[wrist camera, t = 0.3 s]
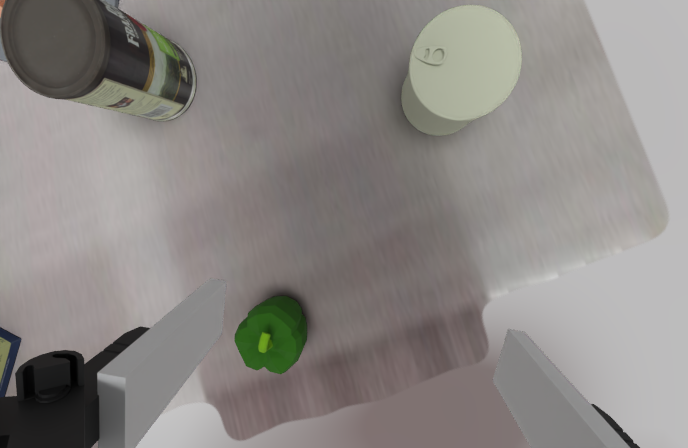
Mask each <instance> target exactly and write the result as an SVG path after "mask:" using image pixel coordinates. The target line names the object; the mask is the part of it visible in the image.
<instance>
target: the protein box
mask: <svg viewBox="0 0 688 448" xmlns="http://www.w3.org/2000/svg"><path fill="white" fill-rule="evenodd" d="M20 342H21V338H19V337H17V336H15V335H13V334H11V333H9V332H7V331H5V330H3V329H2V328H0V397H4V396H5V392H6V389H7V386H8V382H9V379H10V376H11V372H12V369H13V365H14V362H15V359H16V355H17V352H18V348H19V345H20Z"/></svg>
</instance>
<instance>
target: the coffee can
mask: <svg viewBox="0 0 688 448" xmlns="http://www.w3.org/2000/svg"><path fill="white" fill-rule="evenodd" d="M0 38H1V44H2V48H3V51H4V54H5V57H6V59H7V62H8V64H9V66H10V67H11V69H12V71H13V72H14V73H15V75H16V76H17V77H18V79H19V80H20V81H21V82H22V83H23V84H24V85H25V86H27V87H28V88H29V89H31V90H33V91H34V92H36V93H38V94H40V95H43V96H46V97H49V98H55V99H66V100H70V101H74V102H78V103H82V104H87V105H91V106H96V107H100V108H105V109H110V110H114V111H118V112H122V113H127V114H131V115H136V116H140V117H145V118H149V119H151V120H155V121H168V120H171V119H174V118H176V117H178V116H180V115H181V114H182V113H183V112H185V110H186V109H187V108H188V107H189V105H190V103H191V102H192V100H193V97H194V94H195V89H196V75H195V70H194V67H193V64H192V62H191V60H190V58H189V56H188V55H187V54H186V52H185V51H184V50H183V49H182V48H181V47H180V46H179V45H177V44H176V43H174V42H173V41H170V40H168V39H167V38H165V37H163V36H162V35H160V34H158V33H157V32H155V31H153V30H152V29H150V28H148V27H147V26H145V25H144V24H142V23H140V22H139V21H137V20H135V19H134V18H132V17H131V16H129V15H127V14H126V13H124V12H123V11H121V10H119V9H118V8H116V7H114V6H113V5H111V4H110V3H108V2H106V1H105V0H5V2H4V5H3V8H2V12H1V17H0Z"/></svg>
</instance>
